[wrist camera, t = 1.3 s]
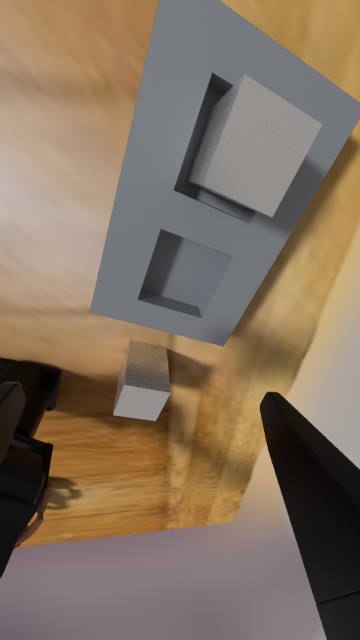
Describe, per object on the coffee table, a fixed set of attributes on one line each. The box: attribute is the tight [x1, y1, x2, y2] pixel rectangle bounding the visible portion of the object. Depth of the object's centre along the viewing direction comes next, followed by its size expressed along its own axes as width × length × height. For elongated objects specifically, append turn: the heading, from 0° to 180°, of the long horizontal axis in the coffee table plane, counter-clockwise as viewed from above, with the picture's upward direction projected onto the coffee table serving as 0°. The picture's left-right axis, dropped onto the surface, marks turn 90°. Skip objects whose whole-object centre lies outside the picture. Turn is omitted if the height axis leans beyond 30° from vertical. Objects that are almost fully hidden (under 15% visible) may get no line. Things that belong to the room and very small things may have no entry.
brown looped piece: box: [14, 484, 50, 549], centre depth 35 cm, size 12×10×8 cm
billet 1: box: [113, 340, 170, 421], centre depth 23 cm, size 4×4×6 cm
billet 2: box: [186, 74, 323, 217], centre depth 13 cm, size 4×4×6 cm
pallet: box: [90, 0, 360, 346], centre depth 17 cm, size 18×12×3 cm, turn 159°
